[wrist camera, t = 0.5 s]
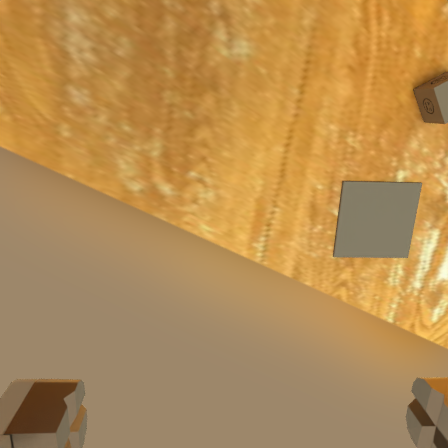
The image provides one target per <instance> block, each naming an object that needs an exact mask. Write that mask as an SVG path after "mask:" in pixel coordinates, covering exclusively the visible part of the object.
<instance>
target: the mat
mask: <svg viewBox="0 0 448 448" xmlns="http://www.w3.org/2000/svg"><path fill="white" fill-rule="evenodd" d="M421 187H422V183H411V182H366V181H343V183H342V191H341V199H340V206H339V214H338V222H337V230H336V237H335V245H334V253H333V257H373V258H408V254H409V249H410V244H411V239H412V233H413V228H414V223H415V218H416V213H417V207H418V202H419V197H420V192H421Z"/></svg>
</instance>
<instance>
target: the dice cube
mask: <svg viewBox="0 0 448 448" xmlns="http://www.w3.org/2000/svg"><path fill="white" fill-rule="evenodd" d="M413 91H414V94H415V97H416V100H417V103H418V106H419V109H420V112H421V115H422V118H423V121H424V122H426V123H438V124H446V123H448V72H445V73H443V74H441V75H440V76H438V77H436V78H434V79H432V80H430V81H428V82H426V83H424V84H422V85H421V86H419V87H417V88H415V89H413Z"/></svg>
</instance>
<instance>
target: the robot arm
mask: <svg viewBox="0 0 448 448" xmlns="http://www.w3.org/2000/svg"><path fill="white" fill-rule="evenodd" d="M412 393H413V394H414V396H415V399H414V400H413V402H411V403H410V404H409V405H408V409H407V414H406V421H407V428H408V431H409V434H410V436H411V439H412V440H413V442H414V444H415V445H416V447H417V448H448V377H440V378H439V377H436V378H417V379H416V380H415V381H414V383H413V386H412ZM84 396H85V388H84V382H83V381H82V380H73V379H72V380H71V379H70V380H69V379H16V380H14V381H13V382H11V383H10V385H9V386H8V388H7V389H6V391H5V392H4V394H3V395H2V396H1V398H0V448H82V447H83V444H84V439H85V434H86V429H87V428H86V427H87V412H86V411H87V410H86V408H85V407H84V406H83V405H82V401H83V398H84Z"/></svg>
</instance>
